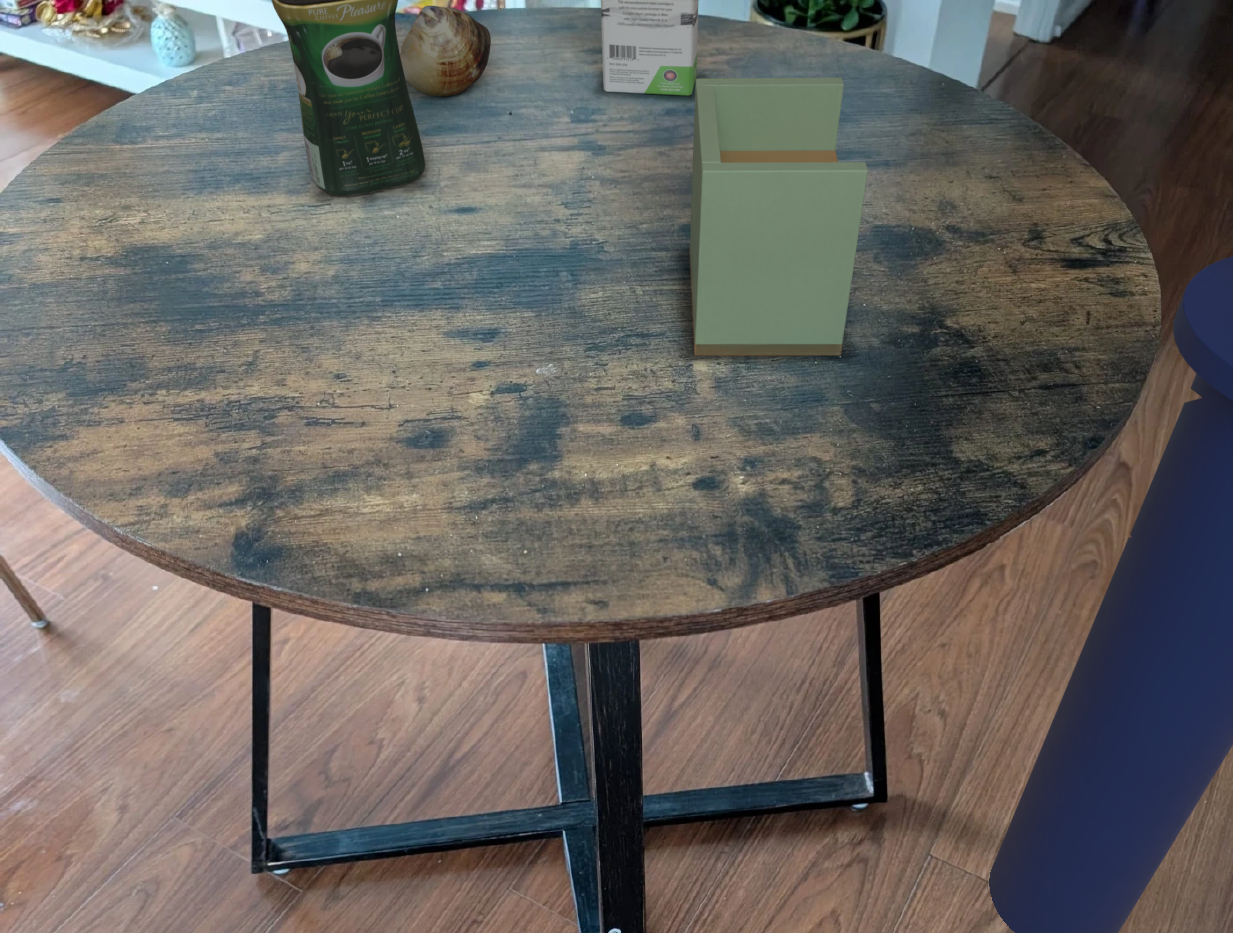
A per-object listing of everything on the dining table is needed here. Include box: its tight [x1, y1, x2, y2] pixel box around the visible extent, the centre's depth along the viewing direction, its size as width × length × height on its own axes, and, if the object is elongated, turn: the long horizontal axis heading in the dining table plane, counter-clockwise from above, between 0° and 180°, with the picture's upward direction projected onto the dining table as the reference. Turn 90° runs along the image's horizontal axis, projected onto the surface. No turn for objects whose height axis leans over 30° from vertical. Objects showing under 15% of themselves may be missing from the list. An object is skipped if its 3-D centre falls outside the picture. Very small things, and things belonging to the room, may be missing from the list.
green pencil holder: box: [689, 77, 869, 356], centre depth 79 cm, size 10×14×13 cm
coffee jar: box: [271, 0, 426, 197], centre depth 92 cm, size 10×8×19 cm
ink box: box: [600, 0, 699, 96], centre depth 107 cm, size 9×5×12 cm, turn 80°
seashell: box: [400, 5, 492, 97], centre depth 107 cm, size 10×6×8 cm, turn 127°
